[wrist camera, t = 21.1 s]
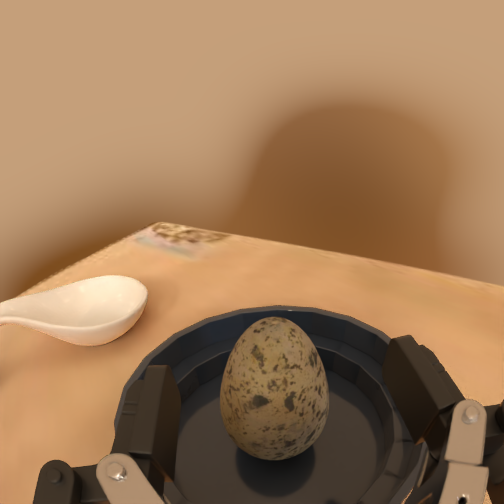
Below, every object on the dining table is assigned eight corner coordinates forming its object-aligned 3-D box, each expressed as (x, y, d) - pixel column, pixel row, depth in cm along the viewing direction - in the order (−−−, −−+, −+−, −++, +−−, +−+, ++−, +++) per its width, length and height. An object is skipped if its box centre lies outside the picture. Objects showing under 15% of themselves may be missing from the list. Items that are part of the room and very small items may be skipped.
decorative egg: (215, 424, 18) (184, 310, 14) (289, 392, 20) (291, 275, 16) (256, 491, 13) (239, 400, 9) (339, 446, 15) (372, 332, 11)
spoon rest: (126, 288, 37) (112, 238, 34) (175, 326, 29) (160, 263, 26) (-23, 363, 21) (-51, 312, 18) (-14, 430, 14) (-60, 373, 11)
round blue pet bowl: (359, 338, 26) (367, 293, 23) (442, 511, 9) (484, 482, 7) (161, 359, 25) (146, 315, 23) (131, 556, 8) (89, 540, 6)
